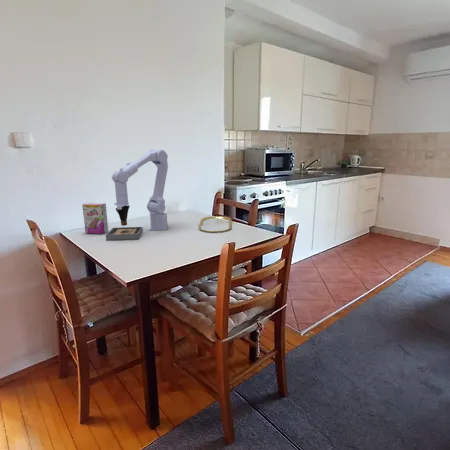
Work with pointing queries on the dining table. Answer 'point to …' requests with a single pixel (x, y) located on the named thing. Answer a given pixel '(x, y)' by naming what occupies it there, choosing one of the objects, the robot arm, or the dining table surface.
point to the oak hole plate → (126, 231)
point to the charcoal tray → (112, 236)
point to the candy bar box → (95, 218)
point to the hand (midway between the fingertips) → (124, 220)
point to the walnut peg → (124, 222)
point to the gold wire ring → (214, 218)
